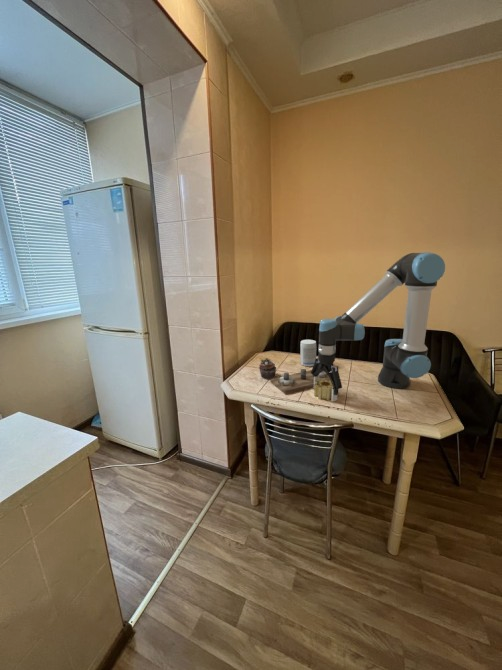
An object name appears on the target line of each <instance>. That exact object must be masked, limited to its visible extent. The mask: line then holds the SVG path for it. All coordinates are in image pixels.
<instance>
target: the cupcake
mask: <svg viewBox="0 0 502 670" xmlns="http://www.w3.org/2000/svg"><path fill="white" fill-rule="evenodd" d="M258 369H259V371H260V372H259V373H260V376H261V378H262V379H265V380H269V379H270V380H271V379H274V378H276V372H277V367H276V364H275V363H274V362H273V361H272V360H271V359H268V358H265V359H261V360H260V363H259V367H258Z"/></svg>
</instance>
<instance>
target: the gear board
mask: <svg viewBox="0 0 502 670" xmlns="http://www.w3.org/2000/svg"><path fill="white" fill-rule="evenodd" d="M319 366H320V365H319ZM311 370H312V369H309V370H307V369H306V368H301V369H300V372H298V373H292V374H289V372H284V373H283V375H282V376H279V377H274V378H271V379H270V383H271V384H272V385H273V386H275V387H276V388H277V389H278V390H279V391H281V392H282V393H283V394H284V395H289V394H293V393H297V392H300V391H304V390H308V389H311V388H314V376H313V374H311ZM317 376H319V381H321V379H324V380H327V381H329V380H330V378H329V376H328V375H327V373H326V372H324V371H322V372H321V373H320V374H319V375H317Z"/></svg>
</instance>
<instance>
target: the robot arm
mask: <svg viewBox="0 0 502 670" xmlns="http://www.w3.org/2000/svg"><path fill="white" fill-rule="evenodd" d="M445 272H446V262H445V260H444V259H443V257H441V256H440V255H439V254H436V253H433V252H411V253H408V254H404V255H403V256H402V257H401V258H399V259H398V260H397V261H396V262H394V263H393V264H392V265H391V266H390V267H389V268H388V269H387V270H386V271H385V273H384V274H385V275H384V276H382V278H380V280H379V281H377V282H376V283H375V284H374V285H373V286H372V287H371V288H370V289H368V291H367V292H366V293H364V295H362V296H361V297H360V298H359V299H357V301H356V302H355V303H354V304H353V305H351V306H350V308H348V309H347V310H346V311H345V312H344V313H343V314H342V315H338V316H336V317H335V318H334V319H333V318H323V319H321V320H320V321H319V328H318V333H319V334H318V355H317V357H316V359H315V363H314V366H312V369H310V370H311V374H313V376H314V384H315V381H319V376H317V375H319V374H320V373H321V372H322V371H324V372H326V373H327V375H328V376H329V378H330V380H331V383H332V385H333V388H332V398H331V400H330V401H331V402H335V401H338V395H339V390H340V389H343V384H342V380H341V377H340V374H339V367H338V365H337V366H334V362H335V360H336V350H337V349H336V346H337V344H336V343H337V341H354V342H355V341H362V340H363V339H364V338H365V334H366V332H365V326H364V324H362V323H358V322H359V321H361V320H362V319H363V318H364V317H365V316H366V315H367V314H369V312H371V311H372V310H373V309H374V308H375V307H376V306H378V304H379V303H381V302H382V301H383V300H384V299H385V298H386V297H387V296H389V295H390V294H391V293H392V292H393V291H394V290H395V289H396V288H398V287H401V286H403V285H404V286H405V288H406V289H408V291H407V296H406V297H407V298H406V299H407V300H406V308H405V315H404V325H403V334H402V338H390V339H389V338H388V339H386V340H385V342H384V348H383V349H384V350H383V359H382V367H381V370H379V373H378V376H377V382H378V383H379V384H380V385H382V386H385V387H387V388H391V389H398V390H399V389H400V390H401V389H407V388H409V387H410V386H411V383H412V381H411V379H419V378H421V377H423V376H425V375H426V374H427V373H429V371H430V369H431V366H432V363H431V360H430V359H429V357H428V356H427V355H428V350H429V349H428V347H427V345H426V344H425V339H426V333H427V327H428V321H429V320H428V318H429V311H430V305H431V297H432V291H433V290H434V289H435V288H437V285H438V281H439V280H440V279H441V278H442V277H443V276H444V274H445ZM319 365H320V366H319ZM335 385H336V386H335Z"/></svg>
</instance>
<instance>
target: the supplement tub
mask: <svg viewBox="0 0 502 670" xmlns="http://www.w3.org/2000/svg"><path fill="white" fill-rule="evenodd" d="M299 348H300V351H299V352H300V354H299V355H300V357H299V358H300V359H299V360H300V365H301V366H302V367H313V366H314V363H315V359H316V358H317V341H316V340H313V339H302V340H301V341H300V347H299Z"/></svg>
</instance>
